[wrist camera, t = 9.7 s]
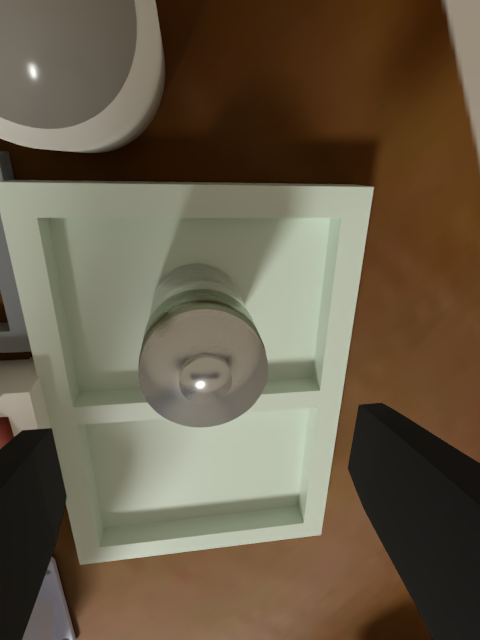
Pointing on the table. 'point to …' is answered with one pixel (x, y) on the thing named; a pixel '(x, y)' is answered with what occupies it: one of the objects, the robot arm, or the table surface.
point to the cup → (79, 73)
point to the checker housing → (22, 396)
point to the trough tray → (127, 336)
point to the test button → (5, 431)
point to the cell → (201, 349)
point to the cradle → (10, 285)
